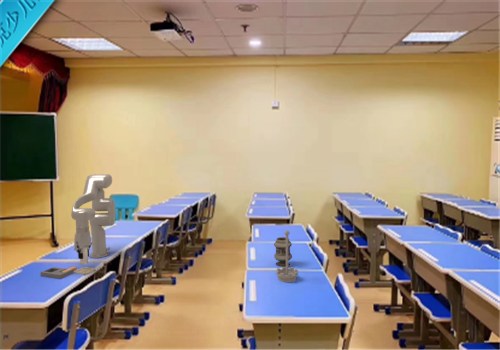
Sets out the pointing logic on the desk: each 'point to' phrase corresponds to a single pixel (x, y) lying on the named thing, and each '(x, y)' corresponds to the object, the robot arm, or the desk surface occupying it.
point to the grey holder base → (56, 273)
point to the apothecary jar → (282, 251)
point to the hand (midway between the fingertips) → (83, 257)
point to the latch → (70, 269)
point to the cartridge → (84, 256)
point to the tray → (85, 270)
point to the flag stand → (286, 273)
